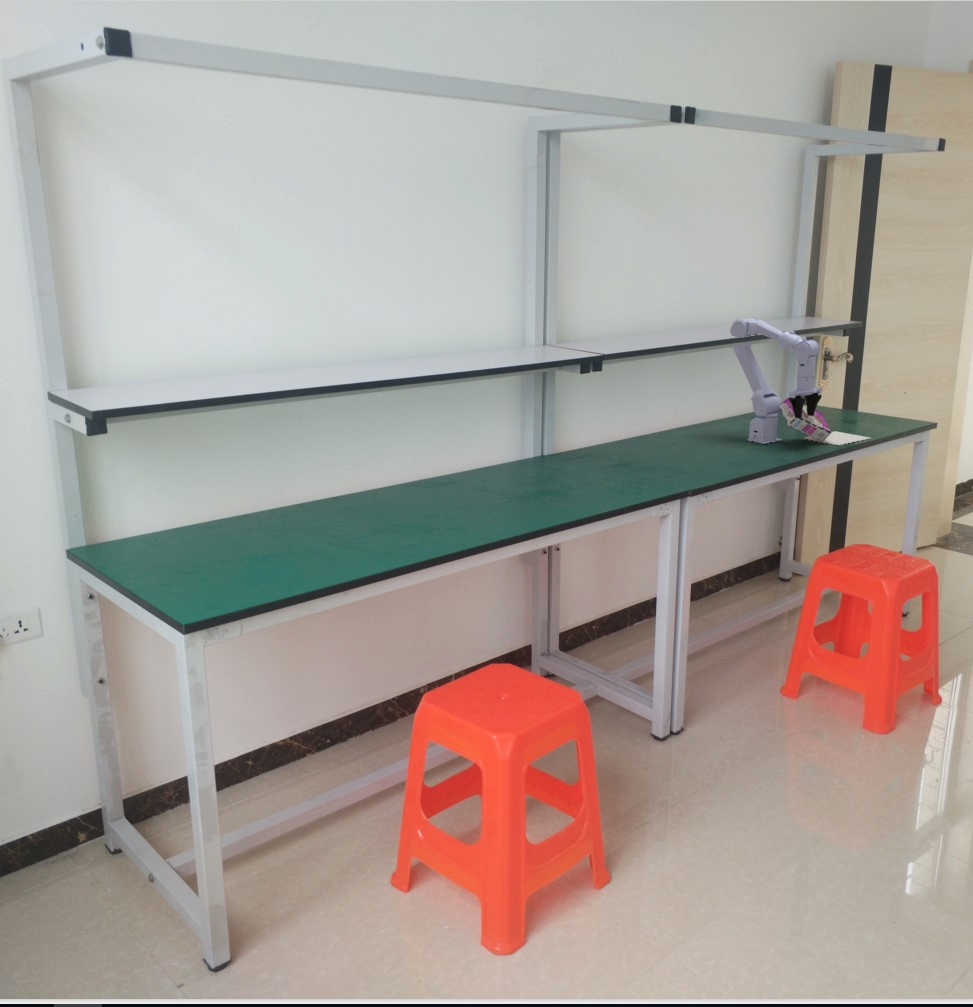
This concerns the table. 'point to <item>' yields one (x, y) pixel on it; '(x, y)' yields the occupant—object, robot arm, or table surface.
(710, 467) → the table surface
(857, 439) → the mat
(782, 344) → the robot arm
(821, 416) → the candy bar box
